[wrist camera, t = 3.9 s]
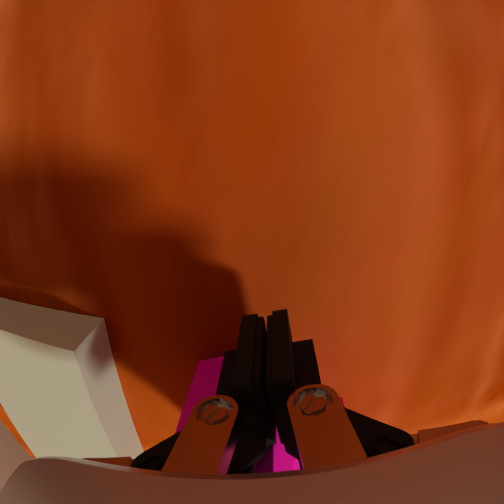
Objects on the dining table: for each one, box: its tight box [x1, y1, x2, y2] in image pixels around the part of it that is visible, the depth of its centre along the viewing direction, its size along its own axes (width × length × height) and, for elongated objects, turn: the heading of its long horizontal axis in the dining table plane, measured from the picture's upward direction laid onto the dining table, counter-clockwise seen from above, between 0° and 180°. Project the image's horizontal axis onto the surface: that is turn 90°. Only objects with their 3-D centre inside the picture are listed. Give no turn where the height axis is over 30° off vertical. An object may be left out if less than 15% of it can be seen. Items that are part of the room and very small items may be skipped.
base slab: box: [0, 297, 144, 459], centre depth 15 cm, size 17×10×4 cm, turn 178°
